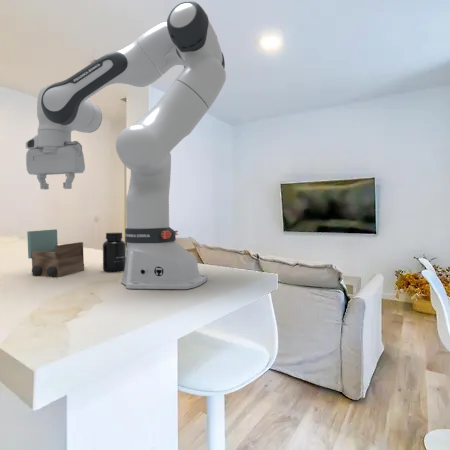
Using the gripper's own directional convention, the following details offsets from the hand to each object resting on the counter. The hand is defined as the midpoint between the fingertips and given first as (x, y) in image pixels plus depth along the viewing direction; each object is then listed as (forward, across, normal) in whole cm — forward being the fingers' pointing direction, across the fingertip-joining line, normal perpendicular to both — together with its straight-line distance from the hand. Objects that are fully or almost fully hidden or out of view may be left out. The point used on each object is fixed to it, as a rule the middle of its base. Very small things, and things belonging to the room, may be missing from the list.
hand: (55, 189), depth 94 cm
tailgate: (+21, +5, 0) cm, 21 cm away
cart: (+26, 0, 0) cm, 26 cm away
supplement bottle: (+26, -15, -8) cm, 31 cm away
